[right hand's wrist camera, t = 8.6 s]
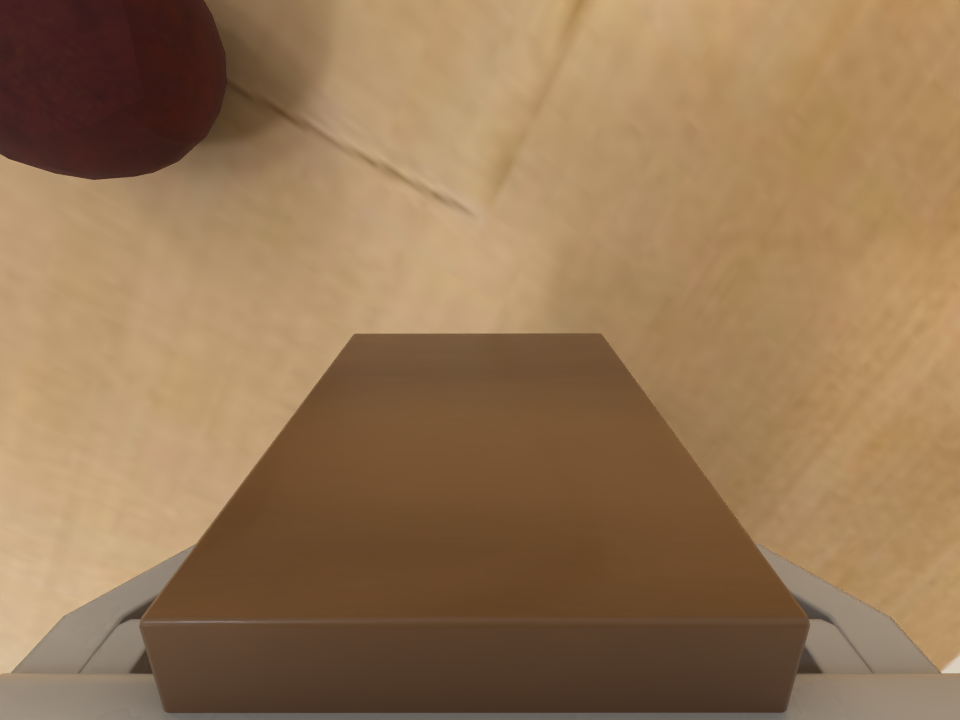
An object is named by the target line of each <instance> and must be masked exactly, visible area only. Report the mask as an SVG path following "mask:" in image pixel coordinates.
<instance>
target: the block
mask: <svg viewBox="0 0 960 720" xmlns="http://www.w3.org/2000/svg"><path fill="white" fill-rule="evenodd" d="M139 628H140V631H141V635H142V638H143V642H144V645H145V648H146V652H147V655H148V659H149V662H150V665H151V669H152V672H153V676H154V679H155V682H156V686H157V689H158V693H159V696H160V699H161V703H162V706H163V710H164V711H165V712H167V713H782V712H784V711H786V710H787V706H788V703H789V699H790V696H791V692H792V688H793V685H794V681H795V678H796V674H797V671H798V667H799V664H800V660H801V657H802V653H803V650H804V646H805V643H806V639H807V635H808V632H809V628H810V622H809V618H808V616H807V615H806V613H805V612H804V610H803V609H802V608H801V606H800V605H799V604H798V602H797V601H796V600H795V598H794V597H793V595H792V594H791V593H790V591H789V590H788V589H787V587H786V586H785V584H784V583H783V582H782V580H781V579H780V578H779V576H778V575H777V573H776V572H775V571H774V569H773V568H772V567H771V565H770V564H769V563H768V561H767V560H766V558H765V557H764V556H763V554H762V553H761V552H760V550H759V549H758V547H757V546H756V545H755V543H754V542H753V541H752V539H751V538H750V537H749V535H748V534H747V532H746V531H745V530H744V528H743V527H742V526H741V524H740V523H739V521H738V520H737V519H736V517H735V516H734V515H733V513H732V512H731V510H730V509H729V508H728V506H727V505H726V504H725V502H724V501H723V500H722V498H721V497H720V495H719V494H718V493H717V491H716V490H715V489H714V487H713V486H712V484H711V483H710V482H709V480H708V479H707V478H706V476H705V475H704V474H703V472H702V471H701V469H700V468H699V467H698V465H697V464H696V463H695V461H694V460H693V458H692V457H691V456H690V454H689V453H688V452H687V450H686V449H685V448H684V446H683V445H682V443H681V442H680V441H679V439H678V438H677V437H676V435H675V434H674V432H673V431H672V430H671V428H670V427H669V426H668V424H667V423H666V421H665V420H664V419H663V417H662V416H661V415H660V413H659V412H658V411H657V409H656V408H655V406H654V405H653V404H652V402H651V401H650V400H649V398H648V397H647V395H646V394H645V393H644V391H643V390H642V389H641V387H640V386H639V385H638V383H637V382H636V380H635V379H634V378H633V376H632V375H631V374H630V372H629V371H628V369H627V368H626V367H625V365H624V364H623V363H622V361H621V360H620V359H619V357H618V356H617V354H616V353H615V352H614V350H613V349H612V348H611V346H610V345H609V343H608V342H607V341H606V339H605V338H604V337H603V335H602V334H354V335H353V336H352V338H351V339H350V340H349V342H348V343H347V344H346V346H345V347H344V348H343V350H342V351H341V352H340V354H339V355H338V356H337V358H336V359H335V360H334V362H333V363H332V364H331V366H330V367H329V368H328V370H327V371H326V372H325V374H324V375H323V376H322V378H321V379H320V380H319V382H318V383H317V384H316V386H315V387H314V388H313V390H312V391H311V392H310V394H309V395H308V396H307V398H306V399H305V400H304V401H303V403H302V404H301V405H300V407H299V408H298V409H297V411H296V412H295V413H294V415H293V416H292V417H291V419H290V420H289V421H288V423H287V424H286V425H285V427H284V428H283V429H282V431H281V432H280V433H279V435H278V436H277V437H276V439H275V440H274V441H273V443H272V444H271V445H270V447H269V448H268V449H267V451H266V452H265V453H264V455H263V456H262V457H261V459H260V460H259V461H258V463H257V464H256V465H255V467H254V468H253V469H252V471H251V472H250V473H249V475H248V476H247V477H246V479H245V480H244V481H243V483H242V484H241V485H240V487H239V488H238V489H237V491H236V492H235V493H234V495H233V496H232V497H231V499H230V500H229V501H228V503H227V504H226V505H225V507H224V508H223V509H222V511H221V512H220V513H219V515H218V516H217V517H216V519H215V520H214V521H213V523H212V524H211V525H210V527H209V528H208V529H207V531H206V532H205V533H204V535H203V536H202V537H201V539H200V540H199V541H198V543H197V544H196V545H195V547H194V548H193V549H192V551H191V552H190V553H189V555H188V556H187V557H186V559H185V560H184V561H183V563H182V564H181V565H180V567H179V568H178V569H177V571H176V572H175V573H174V575H173V576H172V577H171V579H170V580H169V581H168V583H167V584H166V585H165V587H164V588H163V589H162V591H161V592H160V593H159V594H158V596H157V597H156V598H155V600H154V601H153V602H152V604H151V605H150V606H149V608H148V609H147V610H146V612H145V613H144V614H143V616H142V617H141V620H140V624H139Z"/></svg>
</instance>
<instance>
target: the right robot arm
mask: <svg viewBox="0 0 960 720" xmlns="http://www.w3.org/2000/svg"><path fill="white" fill-rule="evenodd" d="M753 542H754V541H753ZM754 543H755V545H756V546H757V547H758V549H759V550H760V552H761V553H762V554H763V556H764V557H765V558H766V560H767V561H768V563H769V564H770V565H771V567H772V568H773V569H774V571H775V572H776V573H777V575H778V576H779V578H780V579H781V580H782V582H783V583H784V584H785V586H786V587H787V589H788V590H789V591H790V593H791V594H792V595H793V597H794V598H795V600H796V601H797V602H798V604H799V605H800V606H801V608H802V609H803V610H804V612H805V613H806V615H807V616H808V618H809V622H810V628H809V632H808V635H807V639H806V643H805V646H804V650H803V653H802V657H801V660H800V664H799V667H798V671H797V674H796V678H795V681H794V685H793V688H792V692H791V696H790V699H789V703H788V706H787V710H786V711H784V712H782V713H167V712H165V711H164V710H163V706H162V703H161V699H160V696H159V693H158V689H157V686H156V682H155V679H154V676H153V672H152V669H151V665H150V662H149V659H148V655H147V652H146V648H145V645H144V642H143V638H142V635H141V631H140V628H139V624H140V620H141V617H142V616H143V614H144V613H145V612H146V610H147V609H148V608H149V606H150V605H151V604H152V602H153V601H154V600H155V598H156V597H157V596H158V594H159V593H160V592H161V591H162V589H163V588H164V587H165V585H166V584H167V583H168V581H169V580H170V579H171V577H172V576H173V575H174V573H175V572H176V571H177V569H178V568H179V567H180V565H181V564H182V563H183V561H184V560H185V559H186V557H187V556H188V555H189V553H190V552H191V551H192V549H193V548H194V547H195V545H196V544H195V545H193V546H191V547H190V548H188V549H186V550H184V551H182V552H180V553H179V554H177V555H175V556H173V557H171V558H169V559H168V560H166V561H164V562H162V563H160V564H158V565H157V566H155V567H153V568H151V569H149V570H148V571H146V572H144V573H142V574H140V575H138V576H137V577H135V578H133V579H131V580H129V581H127V582H126V583H124V584H122V585H120V586H118V587H116V588H115V589H113V590H111V591H109V592H107V593H106V594H104V595H102V596H100V597H98V598H96V599H95V600H93V601H91V602H89V603H87V604H85V605H84V606H82V607H80V608H78V609H76V610H75V611H73V612H71V613H69V614H67V615H65V616H64V617H62V619H61V620H60V621H59V622H58V623H57V624H56V625H55V626H54V627H53V628H52V629H51V630H50V631H49V633H48V634H47V635H46V636H45V637H44V638H43V639H42V640H41V641H40V642H39V643H38V644H37V645H36V647H35V648H34V649H33V650H32V651H31V652H30V653H29V654H28V655H27V656H26V657H25V658H24V659H23V661H22V662H21V663H20V664H19V665H18V666H17V667H16V668H15V669H14V670H13V671H12V672H11V673H10V674H0V720H960V674H942V673H941V672H940V671H939V670H938V669H937V668H936V667H935V666H934V665H933V663H932V662H931V661H930V660H929V659H928V658H927V657H926V656H925V655H924V654H923V652H922V651H921V650H920V649H919V648H918V647H917V646H916V645H915V644H914V643H913V641H912V640H911V639H910V638H909V637H908V636H907V635H906V634H905V633H904V632H903V630H902V629H901V628H900V627H899V626H898V625H897V624H896V623H895V622H894V621H893V619H892V618H891V617H889V616H887V615H885V614H884V613H882V612H880V611H878V610H876V609H875V608H873V607H871V606H869V605H867V604H865V603H864V602H862V601H860V600H858V599H856V598H855V597H853V596H851V595H849V594H847V593H846V592H844V591H842V590H840V589H838V588H837V587H835V586H833V585H831V584H829V583H828V582H826V581H824V580H822V579H820V578H819V577H817V576H815V575H813V574H811V573H810V572H808V571H806V570H804V569H802V568H801V567H799V566H797V565H795V564H793V563H792V562H790V561H788V560H786V559H784V558H783V557H781V556H779V555H777V554H775V553H774V552H772V551H770V550H768V549H766V548H765V547H763V546H761V545H759V544H757V543H756V542H754Z"/></svg>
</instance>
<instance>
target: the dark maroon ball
mask: <svg viewBox="0 0 960 720" xmlns="http://www.w3.org/2000/svg"><path fill="white" fill-rule="evenodd" d="M226 83H227V80H226V63H225V52H224V49H223V46H222V43H221V40H220V37H219V34H218V31H217V28H216V25H215V22H214V19H213V16H212V14H211V12H210V10H209V9H208V7H207V5H206V4H205V2H204V0H0V154H1V155H3V156H5V157H7V158H8V159H11V160H14V161H17V162H21V163H24V164H27V165H30V166H33V167H37V168H40V169H43V170H46V171H49V172H53V173H56V174H62V175H68V176H74V177H80V178H86V179H92V180H96V179H109V178H121V177H134V176H139V175H144V174H149V173H154V172H156V171H158V170H160V169H162V168H164V167H167V166H169V165H171V164H173V163H175V162H178V161H179V160H180V159H181V158H183V157H184V156H185V155H186V154H187V153H188V152H189V151H190V150H191V149H193V148H194V147H195V146H196V145H197V144H198V143H199V142H200V141H201V140H202V139H204V138H205V137H206V135H207V134H208V132H209V130H210V128H211V126H212V125H213V123H214V121H215V119H216V117H217V116H218V114H219V112H220V109H221V105H222V101H223V96H224V92H225V88H226Z"/></svg>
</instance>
